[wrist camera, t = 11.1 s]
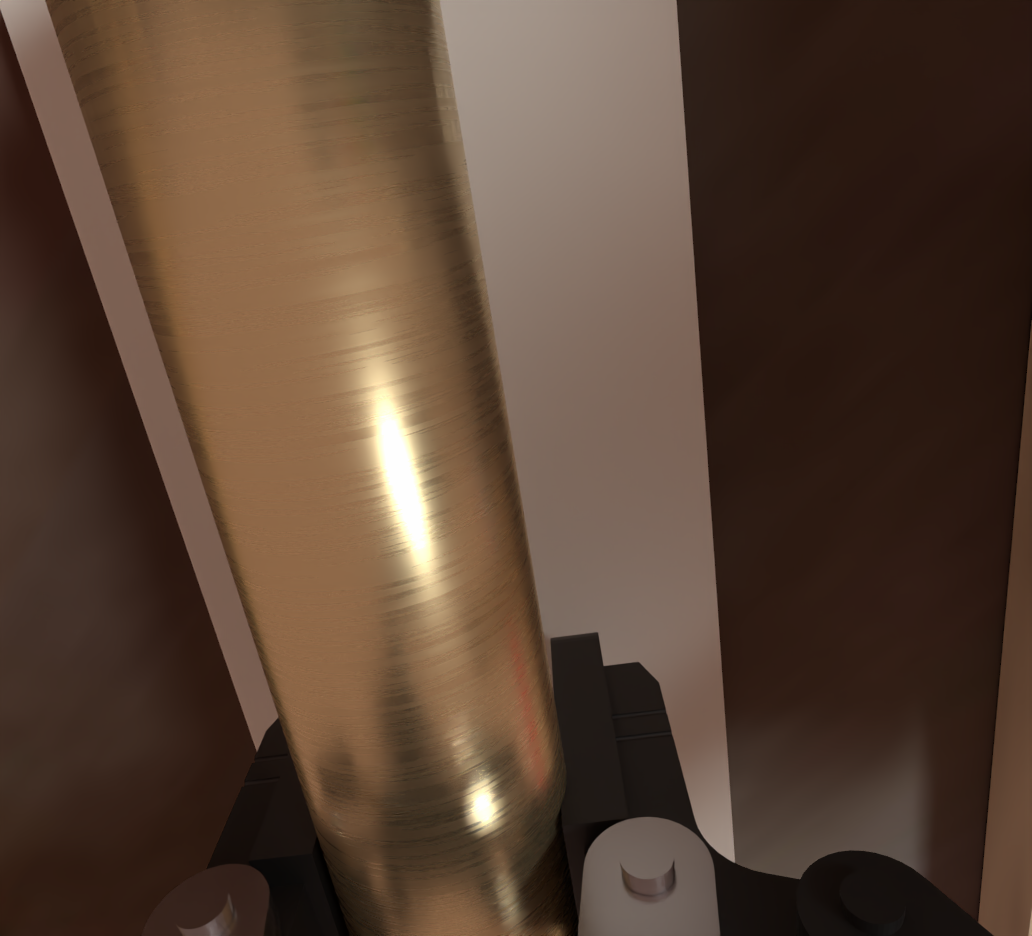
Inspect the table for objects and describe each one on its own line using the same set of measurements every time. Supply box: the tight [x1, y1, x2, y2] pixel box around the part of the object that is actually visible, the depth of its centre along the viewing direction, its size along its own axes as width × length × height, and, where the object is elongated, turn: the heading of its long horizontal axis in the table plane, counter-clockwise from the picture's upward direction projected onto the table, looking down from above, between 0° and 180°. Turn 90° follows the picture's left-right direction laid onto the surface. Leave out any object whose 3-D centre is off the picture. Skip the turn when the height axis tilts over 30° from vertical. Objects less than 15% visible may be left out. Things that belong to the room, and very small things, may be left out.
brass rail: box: [45, 0, 579, 936], centre depth 9 cm, size 24×3×3 cm, turn 9°
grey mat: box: [0, 0, 735, 863], centre depth 13 cm, size 8×21×1 cm, turn 9°
